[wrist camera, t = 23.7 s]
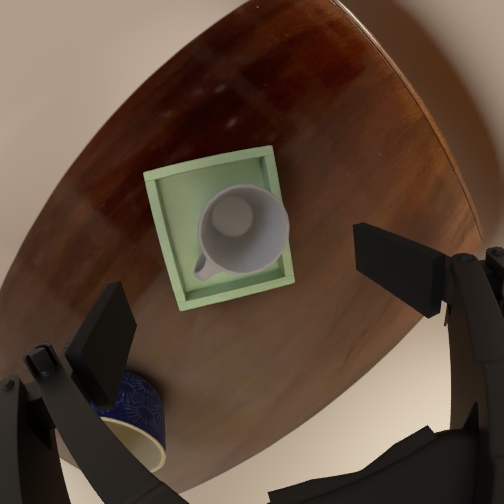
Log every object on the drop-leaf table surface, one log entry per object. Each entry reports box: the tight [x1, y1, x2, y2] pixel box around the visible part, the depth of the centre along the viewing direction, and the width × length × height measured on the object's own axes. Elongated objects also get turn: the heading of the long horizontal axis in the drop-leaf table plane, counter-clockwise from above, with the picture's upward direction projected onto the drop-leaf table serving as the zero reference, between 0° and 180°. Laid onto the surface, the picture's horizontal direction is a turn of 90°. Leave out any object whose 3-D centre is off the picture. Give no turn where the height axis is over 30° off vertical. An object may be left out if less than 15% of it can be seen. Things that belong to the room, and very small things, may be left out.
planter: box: [90, 371, 166, 473], centre depth 30 cm, size 12×12×11 cm
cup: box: [194, 184, 290, 281], centre depth 28 cm, size 8×10×8 cm
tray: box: [143, 145, 295, 311], centre depth 31 cm, size 15×13×3 cm
